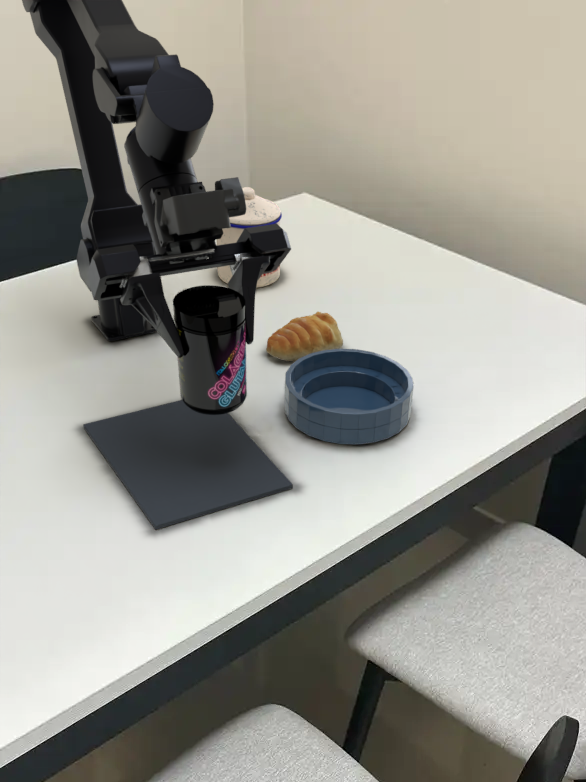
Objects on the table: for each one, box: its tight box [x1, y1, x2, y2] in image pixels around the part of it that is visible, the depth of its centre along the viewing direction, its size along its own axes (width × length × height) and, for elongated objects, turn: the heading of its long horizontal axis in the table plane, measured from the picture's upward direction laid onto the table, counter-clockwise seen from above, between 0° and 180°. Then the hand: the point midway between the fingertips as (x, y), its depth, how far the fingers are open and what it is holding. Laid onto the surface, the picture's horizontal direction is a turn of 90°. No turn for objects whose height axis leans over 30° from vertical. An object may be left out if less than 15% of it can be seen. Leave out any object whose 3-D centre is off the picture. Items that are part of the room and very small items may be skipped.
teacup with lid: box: [215, 186, 283, 289], centre depth 131 cm, size 12×9×12 cm
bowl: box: [284, 348, 415, 445], centre depth 108 cm, size 14×14×4 cm
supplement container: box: [172, 284, 248, 415], centre depth 93 cm, size 7×7×10 cm
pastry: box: [265, 311, 344, 363], centre depth 118 cm, size 9×7×4 cm
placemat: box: [82, 399, 294, 530], centre depth 101 cm, size 20×15×1 cm
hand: (216, 349), depth 91 cm, fingers closed on supplement container, 7 cm apart
